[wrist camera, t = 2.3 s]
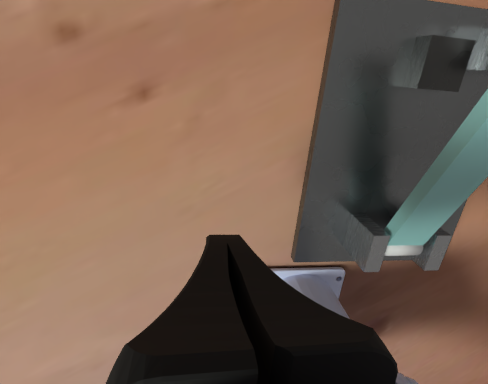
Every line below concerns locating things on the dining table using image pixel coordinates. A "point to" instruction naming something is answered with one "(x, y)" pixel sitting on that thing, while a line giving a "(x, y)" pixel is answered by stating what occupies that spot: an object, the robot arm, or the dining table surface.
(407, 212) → the teal rectangular bar
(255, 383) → the robot arm
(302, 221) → the plate
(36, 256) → the dining table surface
